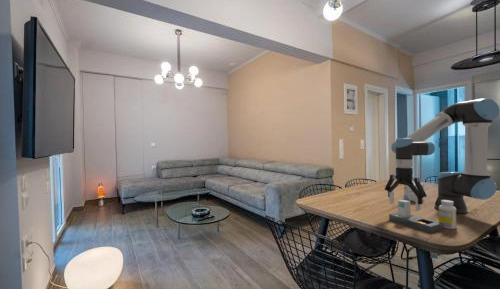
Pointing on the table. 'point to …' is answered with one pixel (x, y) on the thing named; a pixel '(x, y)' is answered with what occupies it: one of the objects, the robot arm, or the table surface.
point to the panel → (417, 222)
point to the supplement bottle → (447, 214)
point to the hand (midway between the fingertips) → (404, 206)
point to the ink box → (410, 192)
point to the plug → (404, 208)
